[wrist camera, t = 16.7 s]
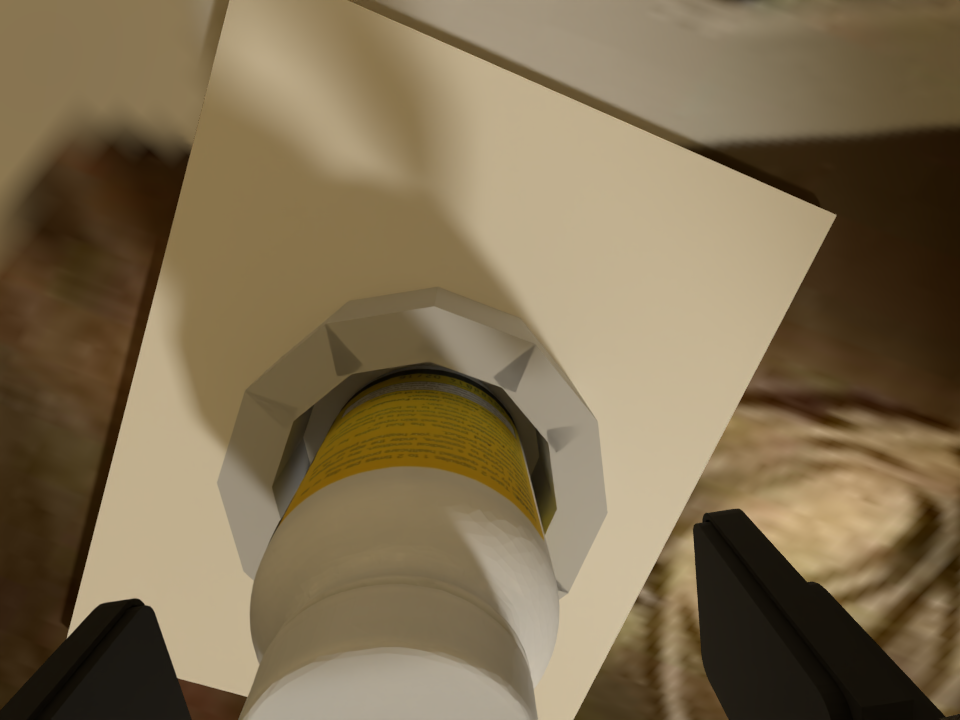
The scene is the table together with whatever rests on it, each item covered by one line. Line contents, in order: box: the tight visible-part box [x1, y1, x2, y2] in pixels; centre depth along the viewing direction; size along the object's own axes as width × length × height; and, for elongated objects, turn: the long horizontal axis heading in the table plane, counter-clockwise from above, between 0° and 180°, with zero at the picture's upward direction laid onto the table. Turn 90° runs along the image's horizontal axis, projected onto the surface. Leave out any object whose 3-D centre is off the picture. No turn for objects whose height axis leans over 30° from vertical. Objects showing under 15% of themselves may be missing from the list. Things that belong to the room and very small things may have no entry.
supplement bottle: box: [238, 365, 560, 720], centre depth 12 cm, size 5×5×10 cm
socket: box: [67, 0, 837, 720], centre depth 16 cm, size 16×20×4 cm
